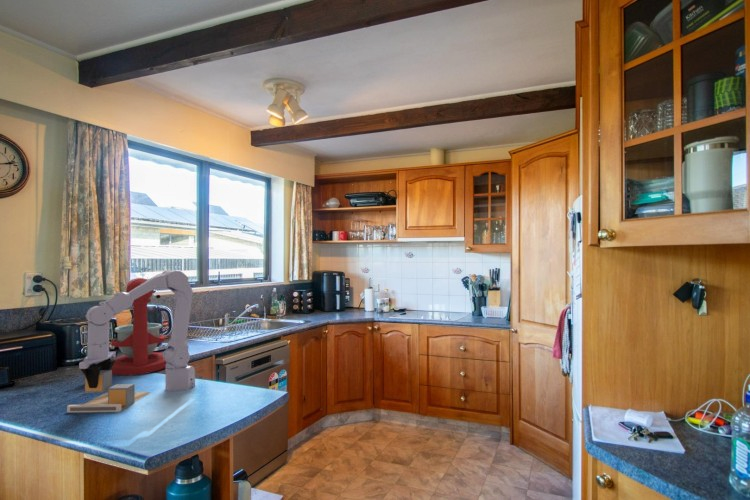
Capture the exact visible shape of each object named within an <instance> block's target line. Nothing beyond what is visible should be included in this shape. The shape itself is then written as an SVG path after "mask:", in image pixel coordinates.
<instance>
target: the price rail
mask: <svg viewBox="0 0 750 500" xmlns="http://www.w3.org/2000/svg"><path fill="white" fill-rule="evenodd" d="M66 407H67V410H66V412H76V413H118V412H121V411H122V410H121V404H87V405H83V404H68V405H67V406H66Z"/></svg>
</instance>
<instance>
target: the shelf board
mask: <svg viewBox="0 0 750 500" xmlns="http://www.w3.org/2000/svg"><path fill="white" fill-rule="evenodd" d="M151 393H152V392H150V391H147V392H146V391H145V392H142V391H138V392H136V391H135V402H134V403H133V404H135V403H136V402H138V401H139V400H141V399H143V398H144V397H146V396H148V395H149V394H151ZM87 404H108V392H104V393H103V394H101V395H99V396H97V397H95V398H92V399H90V400H89V401H87V402H85V403H82V405H87ZM129 406H131V405H129ZM129 406H128V407H129ZM126 408H127V407H121V411H123V410H125V409H126ZM66 412H67V411H66ZM68 413H72V414H73V413H77V412H67V414H68Z"/></svg>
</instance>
